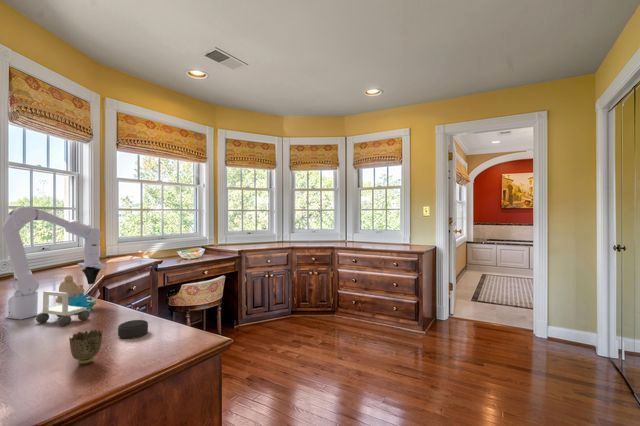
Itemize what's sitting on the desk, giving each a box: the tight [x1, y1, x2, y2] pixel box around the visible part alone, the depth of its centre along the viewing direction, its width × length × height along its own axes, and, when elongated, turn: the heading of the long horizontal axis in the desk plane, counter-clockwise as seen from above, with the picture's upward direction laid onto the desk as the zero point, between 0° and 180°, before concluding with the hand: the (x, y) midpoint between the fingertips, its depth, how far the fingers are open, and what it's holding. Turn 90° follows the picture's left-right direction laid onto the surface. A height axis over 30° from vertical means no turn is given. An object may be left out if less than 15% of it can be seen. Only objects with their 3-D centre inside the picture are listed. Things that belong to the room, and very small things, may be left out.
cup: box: [68, 329, 104, 366], centre depth 89 cm, size 8×7×8 cm
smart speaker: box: [117, 319, 149, 340], centre depth 110 cm, size 9×9×4 cm
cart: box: [35, 290, 91, 327], centre depth 124 cm, size 13×11×12 cm
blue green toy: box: [68, 292, 97, 315], centre depth 137 cm, size 11×6×10 cm
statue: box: [55, 274, 87, 303], centre depth 155 cm, size 12×14×10 cm
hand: (91, 283), depth 148 cm, fingers closed
